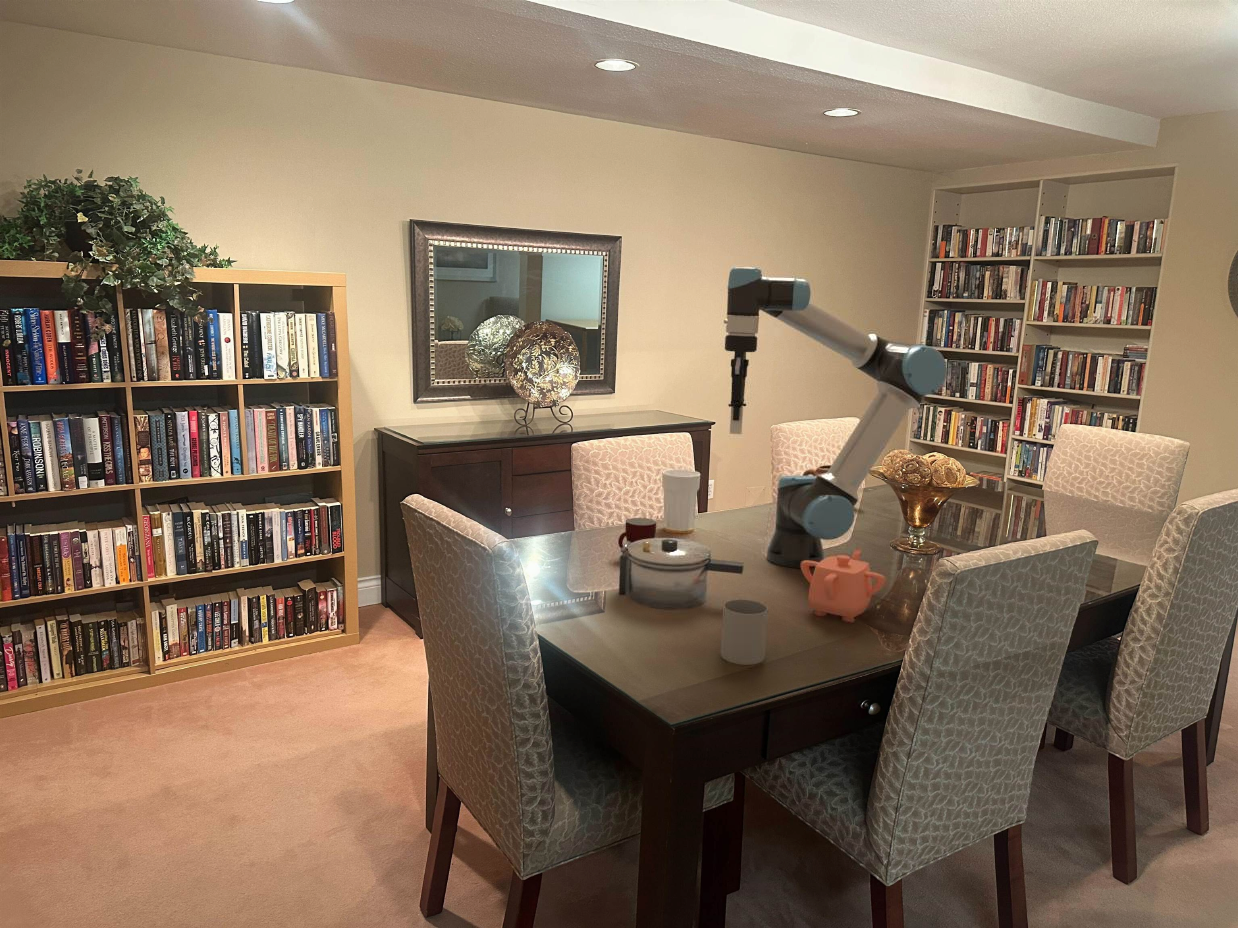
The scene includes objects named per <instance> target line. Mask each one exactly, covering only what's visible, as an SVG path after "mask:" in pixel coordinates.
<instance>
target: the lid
mask: <svg viewBox="0 0 1238 928" xmlns="http://www.w3.org/2000/svg"><path fill="white" fill-rule="evenodd" d="M627 549H628V554H629V555H630V556H631V557H633V558H635V559H637V560H640V561H643V562H647V563H652V564H659V565H672V566H681V565H693V564H698V563H702V562H705V561H707V560H708V559H709V558H710V556H712V555H711V554H712V551H711V549H710V548H709V547H708V546H707V545H705V544H703V543H701V542H697V541H693V540H689V539H683V538H673V537H655V538H650V539H643V540H638V541H635V542H632V543H631V542H630V541H627V540H626V541H625V543H624V545H623V547H622V548H620V552H621V554H622V553H624V552H625V551H626V550H627Z"/></svg>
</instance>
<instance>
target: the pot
mask: <svg viewBox="0 0 1238 928" xmlns="http://www.w3.org/2000/svg"><path fill="white" fill-rule="evenodd" d="M711 556H712V555H711ZM711 556H710V558H709V559H708V560H707V561H705V562H702V563H698V564H693V565H681V566H672V565H659V564H652V563H647V562H643V561H640V560H637V559H635V558H633V557H631V556H630V555H629V554H628V551H625V552H624V553H622V552H621V554H620V555H619V578H618V579H619V580H618V581H619V582H618V585H619V586H618V595H621V596H626V594H627V593H628V598H629V599H630V600H631V601H632V602H634V603H636V604H638V605H640V606H644V607H648V608H652V609H659V610H674V611H675V610H687V609H688V610H689V609H693V608H696V607H698V606H701V605H703V604H704V603H705V602H706V601H707V592H708V591H707V588H708V587H707V585H708V573H709V571H710V572H720V573H730V574H737V575H738V574H740V575H742V574H743V572H744V565H745V563H744V561H735V560H725V559H713V558H712V557H711Z"/></svg>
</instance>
